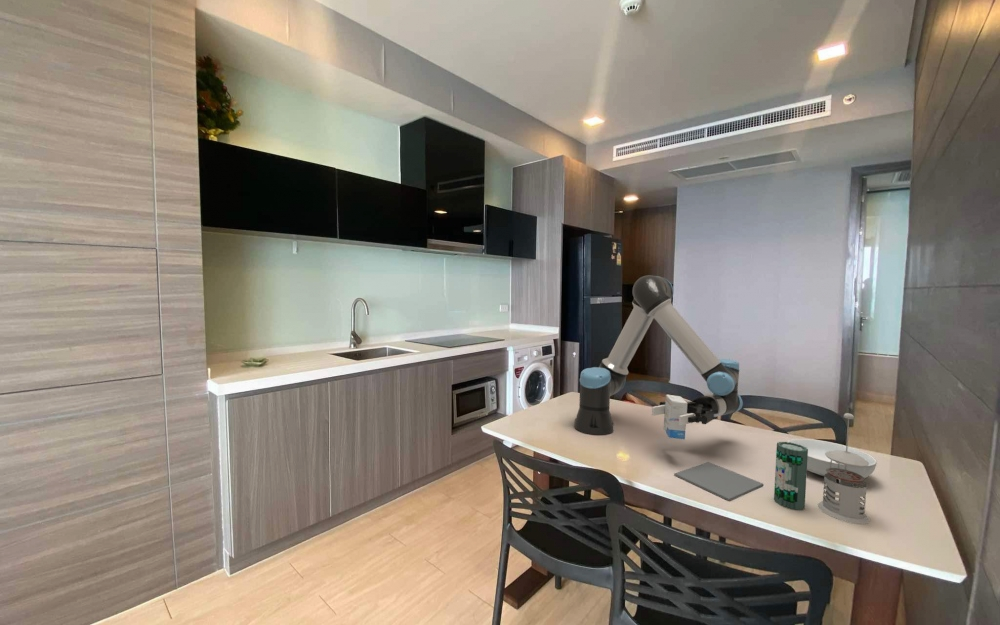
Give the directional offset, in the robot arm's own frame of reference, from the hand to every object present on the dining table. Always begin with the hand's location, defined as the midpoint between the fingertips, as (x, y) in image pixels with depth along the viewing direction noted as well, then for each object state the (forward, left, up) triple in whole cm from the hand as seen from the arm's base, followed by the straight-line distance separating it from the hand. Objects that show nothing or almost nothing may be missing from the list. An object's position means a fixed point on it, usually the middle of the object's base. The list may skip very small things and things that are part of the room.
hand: (666, 415), depth 121 cm
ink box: (0, +5, -7) cm, 8 cm away
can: (+31, +8, -16) cm, 35 cm away
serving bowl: (+28, +39, -16) cm, 51 cm away
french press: (+39, +16, -16) cm, 45 cm away
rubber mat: (+15, +4, -15) cm, 22 cm away
